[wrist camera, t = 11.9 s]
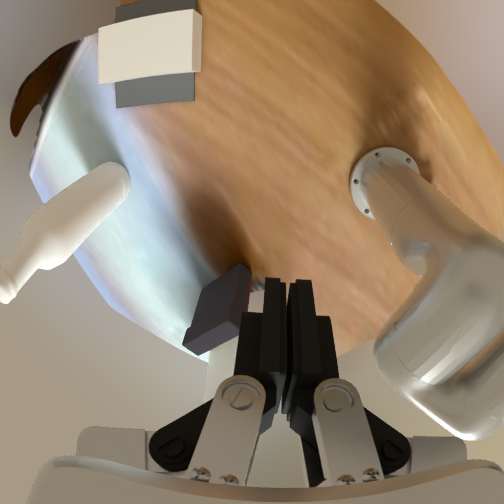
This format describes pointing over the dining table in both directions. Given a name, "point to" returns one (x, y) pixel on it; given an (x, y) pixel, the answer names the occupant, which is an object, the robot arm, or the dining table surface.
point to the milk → (220, 367)
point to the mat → (162, 85)
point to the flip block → (150, 46)
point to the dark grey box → (219, 311)
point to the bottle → (63, 225)
